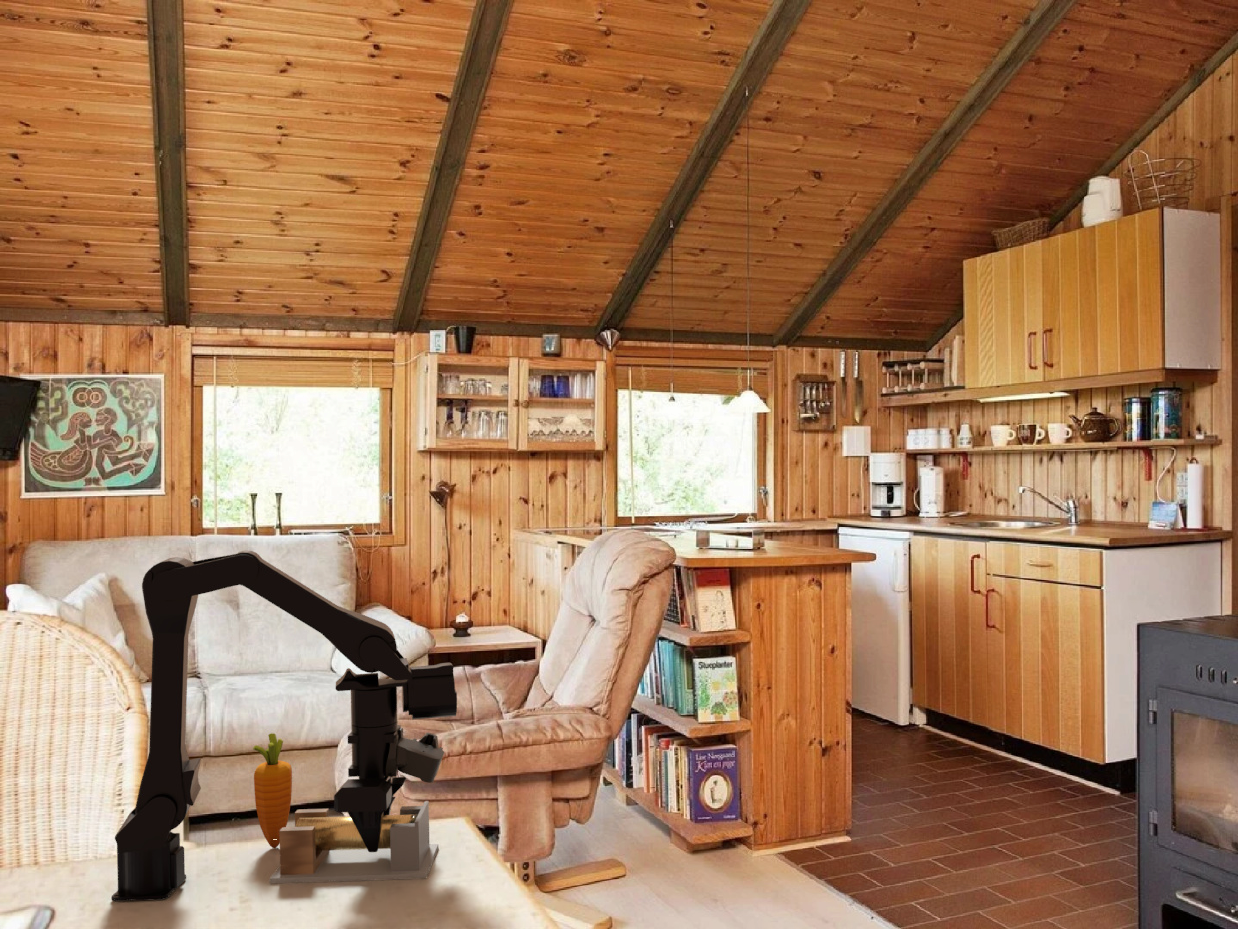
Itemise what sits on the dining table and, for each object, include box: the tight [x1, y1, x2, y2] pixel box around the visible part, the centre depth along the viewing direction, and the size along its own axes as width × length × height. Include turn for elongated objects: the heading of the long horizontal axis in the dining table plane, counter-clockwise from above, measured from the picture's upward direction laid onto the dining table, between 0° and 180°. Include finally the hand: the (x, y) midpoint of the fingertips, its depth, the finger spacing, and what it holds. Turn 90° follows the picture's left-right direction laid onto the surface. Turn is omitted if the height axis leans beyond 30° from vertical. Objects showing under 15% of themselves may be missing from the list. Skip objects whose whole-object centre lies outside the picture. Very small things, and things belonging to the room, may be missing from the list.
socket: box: [390, 800, 430, 871], centre depth 132 cm, size 4×8×6 cm, turn 1°
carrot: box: [253, 732, 293, 849], centre depth 139 cm, size 5×5×15 cm
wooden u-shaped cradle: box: [279, 808, 330, 875], centre depth 132 cm, size 4×8×5 cm, turn 2°
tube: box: [296, 814, 418, 851], centre depth 132 cm, size 15×4×4 cm, turn 92°
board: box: [269, 843, 439, 884], centre depth 132 cm, size 19×10×1 cm, turn 92°
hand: (376, 845), depth 132 cm, fingers closed on tube, 4 cm apart
